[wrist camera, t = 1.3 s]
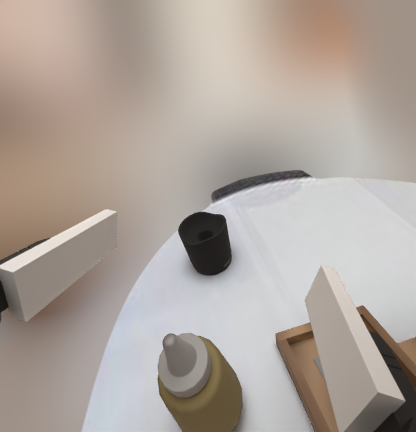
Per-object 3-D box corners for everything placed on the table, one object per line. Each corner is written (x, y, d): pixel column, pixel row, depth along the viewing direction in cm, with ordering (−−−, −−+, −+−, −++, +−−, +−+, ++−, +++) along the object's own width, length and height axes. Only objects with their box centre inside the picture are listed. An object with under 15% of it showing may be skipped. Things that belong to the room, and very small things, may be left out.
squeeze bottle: (174, 393, 29) (111, 329, 19) (222, 355, 32) (191, 280, 21) (202, 472, 23) (132, 442, 13) (260, 417, 26) (241, 355, 15)
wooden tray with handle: (421, 296, 32) (428, 284, 31) (550, 406, 22) (573, 397, 20) (276, 343, 31) (275, 333, 30) (336, 481, 21) (341, 478, 19)
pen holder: (198, 284, 43) (184, 249, 37) (187, 254, 50) (174, 221, 44) (241, 265, 44) (234, 229, 38) (223, 239, 52) (215, 205, 46)
